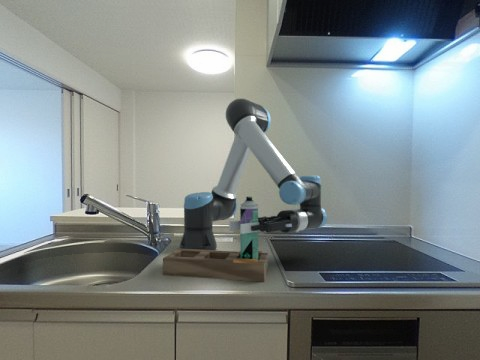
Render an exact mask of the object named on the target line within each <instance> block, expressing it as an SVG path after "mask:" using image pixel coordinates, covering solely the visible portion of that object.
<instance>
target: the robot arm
mask: <svg viewBox="0 0 480 360" xmlns="http://www.w3.org/2000/svg"><path fill="white" fill-rule="evenodd" d="M225 120H226V122H227V125H228V126H229V127H230V129H231V130H232V132H233V133H234V134H235V137H234V140H233V141H232V145H231V146H230V150H229V153H228V156H227V158H226V161H225V164H224V167H223V170H222V172H221V175H220V177H219V180H218V183H217V185H216V186H213V187H212V189H211V192H208V191H203V192H195V193H194V192H193V193H190V194H187V195H186V196H185V197H184V201H183V202H184V204H183V218H184V219H183V221H184V222H183V224H184V225H183V226H184V227H183V228H184V229H183V234H182V237H181V240H180V244H179V249H197V250H215V249H216V248H218V247H217V246H218V245H217V240H216V237H215V234H214V230H213V222H219V221H225V220H228V219H230V218H232V217H234V216H235V215H236V213H237V211H238V206H239V205H238V204H239V203H238V199H237V197H238V195H237V193H236V192H237V189H238V186H239V184H240V181H241V178H242V176H243V173H244V171H245V168H246V165H247V163H248V161H249V158H250V154H251V153H252V154H253V156H254V157H255V158H256V159H257V161H258V162H259V164H260V166H262V168H263V169H264V170H265V172H266V173H267V174H268V176H269V177H270V178H271V180H272V181H273V183H274V184H275V185H276V187H277V188H278V189H279V191H278V193H279V198H280V200H281V201H282V202H283V204H284V203H285V204H286V205H292V206H294V205H295V206H296V205H297V206H298V205H299V208H297V209H296V208H295V209H285V210H280V211H279V212H278V213H277V215H272V216H266V215H265V216H262V217H261V216H260V217H259V216H258V222H255V223H246V224H240V220H232V221H228V231H229V232H230V231H232V232H233V231H239V234H245V233H252V232H258V233H259V232H262V233H263V232H266V233H272V232H279V231H280V232H281V233H283V234H286V233H287V234H288V233H294V232H295V233H300V231H304V230H305V231H306V230H313V229H314V230H315V229H319V228H322V227H324V226H325V225H327V221H328V214H327V213H326V212H327V211H326V210H325V208H323V207H322V182H321V181H322V180H321V177H320V176H319V175H301V176H300V177H299V176H298V174H297V173H296V172H295V170H294V169H293V168H292V166H291V165H290V164H289V163H288V162H287V160H286V159H285V158H284V156H283V155H282V154H281V153H280V151H279V150H278V149H277V147H275V145H274V144H273V142H272V141H271V140H270V139H269V138H268V136H267V135H266V132H268V131H269V129H270V126H271V122H272V118H271V115H270V112H269V111H268V110H267V108H265V107H264V106H262V105H260V104H258V103H255V102H252V101H250V100H248V99H246V98H236V99H233V100H231V102H229V104H228V105H227V107H226V110H225ZM216 250H217V249H216Z"/></svg>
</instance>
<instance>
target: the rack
mask: <svg viewBox="0 0 480 360" xmlns="http://www.w3.org/2000/svg"><path fill="white" fill-rule="evenodd" d="M268 269H269V253H268V252H263V251H262V250H258V259H241V250H240V251H235V250H217V249H216V250H197V249H180V248H177V249H176V250H174V251H172V252H171V253H169V254H167V255H165V256H164V257H163V258H162V275H164V276H176V277H178V276H179V277H189V278H190V277H191V278H203V279H205V278H207V279H221V280H233V281H245V282H246V281H247V282H249V281H250V282H262V283H263V282H265V280H266V277H267V273H268Z"/></svg>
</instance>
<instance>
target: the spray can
mask: <svg viewBox="0 0 480 360" xmlns="http://www.w3.org/2000/svg"><path fill="white" fill-rule="evenodd" d="M245 198H246V199H245V200H244V202H243V203H241V204H240V207H239V209H240V211H239V212H240V213H239V214H240V216H239V217H240V220H239V221H240V224H246V223H255V222H258V218H259V206H258V204H257V203H256V202H255V201H254V200H253V197H252V196H246V197H245ZM239 234H240V233H239ZM240 251H241V259H258V251H259V232H252V233H245V234H240Z"/></svg>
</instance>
